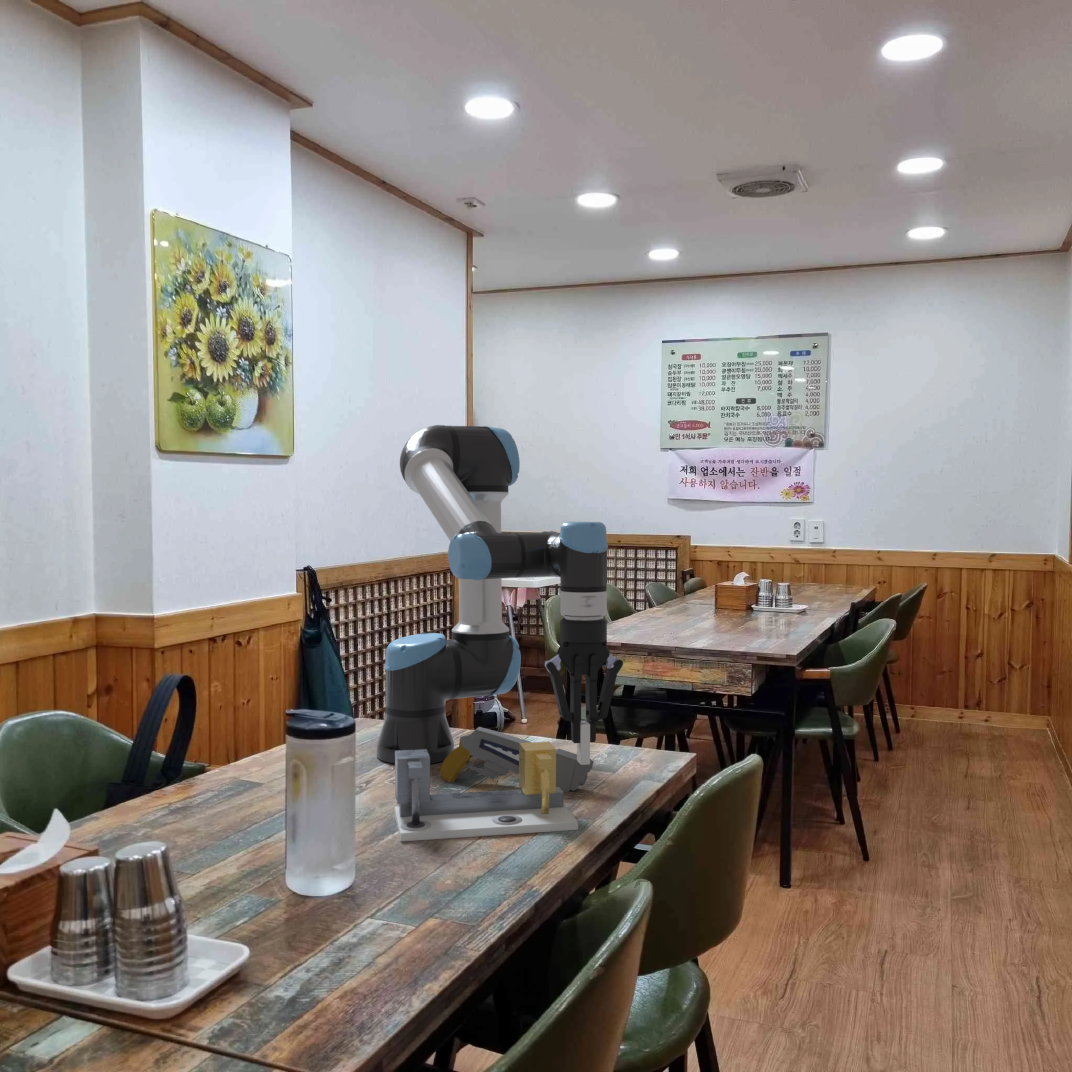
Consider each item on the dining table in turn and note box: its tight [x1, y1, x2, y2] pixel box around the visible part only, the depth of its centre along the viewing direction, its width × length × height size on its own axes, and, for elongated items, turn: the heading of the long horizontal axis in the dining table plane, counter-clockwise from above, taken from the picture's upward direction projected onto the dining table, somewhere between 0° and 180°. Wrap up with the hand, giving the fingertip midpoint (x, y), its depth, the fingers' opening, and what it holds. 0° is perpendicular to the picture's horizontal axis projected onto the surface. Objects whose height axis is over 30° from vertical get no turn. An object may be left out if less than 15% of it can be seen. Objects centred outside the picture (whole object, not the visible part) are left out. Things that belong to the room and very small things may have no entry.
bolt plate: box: [394, 803, 579, 842], centre depth 157 cm, size 13×27×1 cm, turn 102°
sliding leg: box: [518, 741, 556, 814], centre depth 160 cm, size 9×5×9 cm, turn 12°
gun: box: [439, 726, 595, 793], centre depth 177 cm, size 3×25×15 cm, turn 76°
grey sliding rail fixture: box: [394, 749, 565, 824], centre depth 158 cm, size 9×26×9 cm, turn 102°
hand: (583, 762), depth 163 cm, fingers closed
